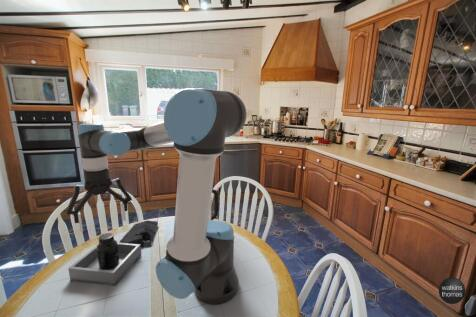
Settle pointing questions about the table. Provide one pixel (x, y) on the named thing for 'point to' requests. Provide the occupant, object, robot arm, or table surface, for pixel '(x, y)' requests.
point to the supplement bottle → (107, 252)
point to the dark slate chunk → (141, 234)
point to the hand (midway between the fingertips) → (103, 224)
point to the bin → (92, 273)
